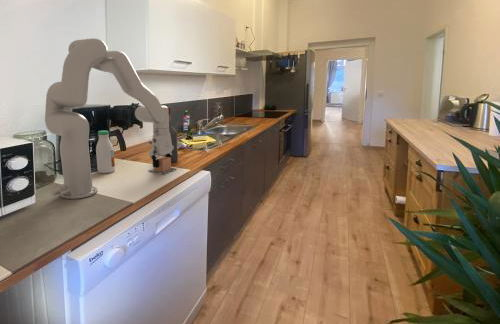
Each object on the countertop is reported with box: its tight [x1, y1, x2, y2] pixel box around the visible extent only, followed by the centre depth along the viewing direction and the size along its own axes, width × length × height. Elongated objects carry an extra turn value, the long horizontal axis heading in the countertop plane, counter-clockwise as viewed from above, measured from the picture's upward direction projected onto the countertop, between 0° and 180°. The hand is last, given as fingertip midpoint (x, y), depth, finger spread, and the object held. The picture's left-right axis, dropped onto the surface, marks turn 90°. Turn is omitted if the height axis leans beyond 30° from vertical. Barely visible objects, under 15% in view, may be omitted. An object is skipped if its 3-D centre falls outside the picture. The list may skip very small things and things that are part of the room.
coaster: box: [147, 167, 177, 175], centre depth 155 cm, size 10×10×1 cm
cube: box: [153, 156, 172, 172], centre depth 154 cm, size 6×6×6 cm
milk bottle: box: [95, 130, 116, 174], centre depth 148 cm, size 8×8×20 cm
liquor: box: [159, 107, 179, 164], centre depth 171 cm, size 9×9×30 cm
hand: (162, 165), depth 155 cm, fingers open, 9 cm apart
